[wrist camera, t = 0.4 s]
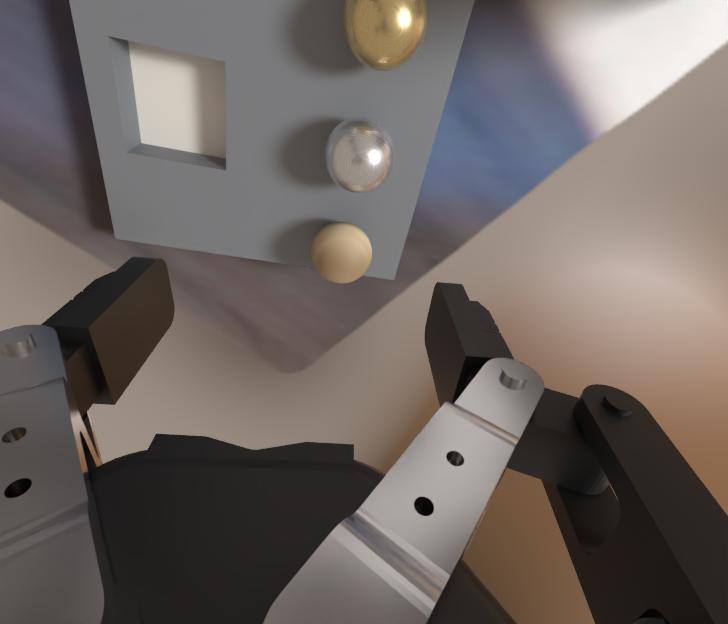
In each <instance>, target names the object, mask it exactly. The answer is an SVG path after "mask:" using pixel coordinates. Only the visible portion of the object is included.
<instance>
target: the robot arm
mask: <svg viewBox="0 0 728 624" xmlns="http://www.w3.org/2000/svg"><path fill="white" fill-rule="evenodd" d="M173 318H174V302H173V296H172V291H171V286H170V281H169V275H168V270H167V266H166V263H165V262H164V260H163V259H158V258H146V257H132V258H130V259H129V260H128V261H127V262H126V263H125V264H123V265H122V266H121V267H120V268H119V269H118V270H117V271H115V272H111V273H109V274H107V275H104V276H102V277H100V278H98V279H96V280H94V281H93V282H92V283H91V284H90V285H88V286H87V287H86V288H85V289H84V290H83V292H80V293H79V294H77V295H76V296H75V297H74V299H73V300H70V301H69V302H68V303H67V304H65V305H64V306H63V307H62V308H61V309H60V310H58V311H57V312H56V313H55V314H53V315H52V316H51V317H50V318H49V319H47V320H46V321H45V322H44V323H43V324H41V325H24V326H18V327H14V328H10V329H6V330H3V331H1V332H0V624H517V623H516V622H515V621H514V619H513V618H512V617H511V616H510V615H509V613H508V612H507V611H506V610H505V609H504V608H503V607H502V605H501V604H500V603H499V602H498V601H497V599H496V598H495V597H494V596H493V595H492V594H491V592H490V591H489V590H488V589H487V588H486V586H485V585H484V584H483V583H482V582H481V581H480V579H479V578H478V577H477V576H476V575H475V574H474V572H473V571H472V570H471V569H470V568H469V567H468V565H467V564H466V563H465V562H464V561H463V559H462V558H463V556H464V554H465V552H466V550H467V548H468V546H469V544H470V542H471V540H472V537H473V536H474V534H475V532H476V529H477V527H478V525H479V523H480V521H481V519H482V517H483V515H484V513H485V511H486V509H487V507H488V505H489V503H490V501H491V499H492V497H493V495H494V493H495V491H496V489H497V487H498V485H499V483H500V481H501V479H502V477H503V475H504V473H505V471H506V469H507V468H509V469H512V470H515V471H518V472H521V473H524V474H527V475H530V476H533V477H536V478H539V479H541V480H542V482H543V485H544V488H545V491H546V493H547V496H548V498H549V501H550V504H551V507H552V509H553V512H554V514H555V517H556V520H557V523H558V525H559V528H560V530H561V533H562V536H563V539H564V541H565V544H566V547H567V549H568V552H569V554H570V557H571V560H572V563H573V565H574V568H575V570H576V573H577V576H578V579H579V581H580V584H581V587H582V589H583V592H584V595H585V597H586V600H587V603H588V606H589V608H590V611H591V614H592V616H593V619H594V621H595V624H728V516H727V514H726V513H725V512H724V510H723V509H722V508H721V507H720V505H719V504H718V502H717V501H716V500H715V498H714V497H713V496H712V494H711V493H710V492H709V491H708V489H707V488H706V487H705V485H704V484H703V483H702V481H701V480H700V479H699V477H698V476H697V475H696V474H695V472H694V471H693V469H692V468H691V467H690V465H689V464H688V463H687V461H686V460H685V459H684V458H683V456H682V455H681V454H680V452H679V451H678V450H677V448H676V447H675V446H674V444H673V443H672V442H671V440H670V439H669V438H668V436H667V435H666V434H665V432H664V431H663V430H662V428H661V427H660V426H659V424H658V423H657V422H656V420H655V419H654V418H653V416H652V415H651V414H650V413H649V411H648V410H647V409H646V408H645V406H644V405H643V404H642V403H640V402H639V401H638V400H637V399H635V398H634V397H632V396H631V395H629V394H627V393H625V392H624V391H621V390H619V389H616V388H614V387H610V386H606V385H598V384H596V385H590V386H588V387H586V388H585V389H584V390H583V392H582V394H581V396H580V398H577V397H574V396H570V395H567V394H563V393H560V392H557V391H553V390H550V389H547V388H545V387H544V382H543V380H542V378H541V377H540V375H539V374H538V373H537V372H536V371H535V370H533V369H532V368H531V367H529V366H528V365H526V364H524V363H522V362H519V361H517V360H514V358H513V356H512V354H511V352H510V350H509V348H508V347H507V345H506V343H505V341H504V339H503V337H502V336H501V333H499V329H498V327H497V325H496V324H495V322H494V320H493V318H492V316H491V314H490V312H489V311H488V310H487V309H486V308H485V307H483V306H482V305H481V304H480V303H479V302H477V301H470V300H469V298H468V296H467V294H466V291H465V289H464V287H463V285H462V284H452V283H439V282H437V283H436V285H435V287H434V291H433V296H432V300H431V304H430V309H429V313H428V317H427V322H426V327H425V346H426V349H427V354H428V358H429V362H430V366H431V370H432V375H433V379H434V383H435V388H436V392H437V396H438V400H439V404H440V409H439V410H438V411H437V413H436V414H435V415H434V417H433V418H432V419H431V420H430V421H429V423H428V424H427V425H426V426H425V428H424V429H423V430H422V431H421V432H420V434H419V435H418V436H417V437H416V439H415V440H414V441H413V442H412V444H411V445H410V446H409V447H408V448H407V450H406V451H405V452H404V453H403V455H402V456H401V457H400V458H399V460H398V461H397V462H396V463H395V465H394V466H393V467H392V468H391V470H390V471H389V472H388V473H387V474H386V475H385V474H384V473H383V472H381V471H379V470H378V469H376V468H374V467H372V466H370V465H367V464H365V463H363V462H359V461H356V460H354V459H353V458H354V445H350V444H332V443H315V442H304V443H297V444H291V445H285V446H279V447H273V448H267V449H260V450H251V449H247V448H243V447H240V446H236V445H233V444H229V443H226V442H223V441H219V440H216V439H213V438H209V437H204V436H186V435H167V434H156V435H155V437H154V439H153V441H152V443H151V445H150V446H149V448H148V450H144V451H139V452H136V453H132V454H128V455H125V456H122V457H119V458H116V459H114V460H111V461H109V462H107V463H104V464H103V463H102V459H101V455H100V451H99V447H98V444H97V440H96V436H95V433H94V429H93V425H92V421H91V418H90V415H89V413H88V410H89V408H90V407H91V406H92V404H94V403H95V404H111V405H115V404H116V402H117V401H118V399H119V398H120V396H121V395H122V394H123V392H124V391H125V389H126V388H127V387H128V385H129V384H130V382H131V381H132V379H133V378H134V377H135V375H136V374H137V372H138V371H139V370H140V368H141V367H142V365H143V364H144V363H145V361H146V360H147V358H148V357H149V355H150V354H151V352H152V351H153V350H154V348H155V347H156V345H157V344H158V343H159V341H160V340H161V338H162V337H163V336H164V334H165V333H166V331H167V330H168V329H169V327H170V326H171V324H172V321H173ZM609 484H611V486H612V488H613V490H614V492H615V494H616V496H617V498H618V500H617V498H616V496H615V494H614V492H613V490H612V488H611V487H610V485H609ZM618 501H619V502H618Z"/></svg>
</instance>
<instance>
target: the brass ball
mask: <svg viewBox="0 0 728 624" xmlns="http://www.w3.org/2000/svg"><path fill="white" fill-rule="evenodd" d="M427 21H428V11H427V4H426V0H346V1H345V4H344V9H343V32H344V36H345V39H346V42H347V45H348V47H349V49H350V51H351V52H352V54H353V55H354V56H355V58H356V59H357V60H358V61H359V62H360V63H361V64H363V65H364V66H366V67H368V68H370V69H372V70H376V71H392V70H395V69H398V68H400V67H402V66H404V65H405V64H407V63H408V62H409V61H410V60H411V59H412V58H413V57H414V56H415V54H416V53H417V52H418V50H419V48H420V46H421V45H422V42H423V40H424V37H425V34H426V29H427Z"/></svg>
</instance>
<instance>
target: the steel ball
mask: <svg viewBox="0 0 728 624" xmlns="http://www.w3.org/2000/svg"><path fill="white" fill-rule="evenodd" d="M324 159H325V165H326V168H327V171H328V173H329V175H330V176H331V178H332V179H333V181H334V182H335V183H336V184H337V185H338V186H340V187H341V188H343V189H345V190H347V191H349V192H353V193H367V192H371V191H373V190H375V189H377V188H379V187H380V186H381V185H382V184H383V183H384V182H385V181H386V180H387V179H388V178H389V176H390V174H391V172H392V170H393V166H394V162H395V148H394V144H393V141H392V138H391V136H390V134H389V133H388V132H387V130H386V129H385V128H384V127H383V126H382V125H381V124H380V123H378V122H377V121H375V120H373V119H370V118H366V117H353V118H349V119H347V120H344V121H343V122H341V123H340V124H338V125H337V126H336V127H335V128H334V129H333V130H332V132H331V133H330V135H329V137H328V139H327V142H326V145H325V150H324Z"/></svg>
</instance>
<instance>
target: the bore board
mask: <svg viewBox="0 0 728 624" xmlns="http://www.w3.org/2000/svg"><path fill="white" fill-rule="evenodd" d="M345 1H346V0H69V3H70V8H71V13H72V18H73V23H74V28H75V33H76V39H77V44H78V49H79V54H80V59H81V64H82V69H83V75H84V80H85V85H86V90H87V95H88V100H89V106H90V111H91V116H92V121H93V126H94V131H95V136H96V142H97V147H98V152H99V157H100V162H101V167H102V173H103V178H104V183H105V188H106V193H107V198H108V203H109V209H110V214H111V219H112V224H113V229H114V234H115V239H120V240H127V241H134V242H140V243H147V244H154V245H161V246H167V247H174V248H181V249H188V250H194V251H201V252H208V253H215V254H221V255H228V256H235V257H242V258H248V259H255V260H262V261H269V262H275V263H282V264H289V265H295V266H302V267H309V268H315V266H314V264H313V261H312V257H311V247H312V243H313V240H314V238H315V236H316V235H317V233H318V232H319V231H320V230H321V229H322V228H324V227H325V226H327V225H329V224H331V223H334V222H348V223H352V224H354V225H356V226H358V227H359V228H360V229H362V230H363V231H364V232H365V234H366V235H367V237H368V238H369V240H370V243H371V247H372V258H371V262H370V265H369V267H368V269H367V270H366V272H365V273H364V274H363V276H370V277H376V278H383V279H390V280H394V278H395V275H396V271H397V268H398V264H399V261H400V257H401V254H402V251H403V247H404V244H405V240H406V237H407V233H408V230H409V226H410V223H411V219H412V216H413V213H414V209H415V206H416V202H417V199H418V195H419V192H420V188H421V185H422V181H423V178H424V175H425V171H426V168H427V164H428V161H429V157H430V154H431V150H432V147H433V143H434V140H435V137H436V133H437V130H438V126H439V123H440V119H441V116H442V112H443V109H444V105H445V102H446V99H447V95H448V92H449V88H450V85H451V81H452V78H453V74H454V71H455V68H456V64H457V61H458V57H459V54H460V50H461V47H462V43H463V40H464V36H465V33H466V30H467V26H468V23H469V19H470V16H471V12H472V9H473V5H474V2H475V0H426V4H427V11H428V21H427V29H426V34H425V37H424V40H423V42H422V45H421V46H420V48H419V50H418V52H417V53H416V54H415V56H414V57H413V58H412V59H411V60H410V61H409V62H408V63H407V64H405V65H404V66H402V67H400V68H398V69H395V70H392V71H376V70H372V69H370V68H368V67H366V66H364V65H363V64H361V63H360V62H359V61H358V60H357V59H356V58H355V56H354V55H353V54H352V52H351V51H350V49H349V47H348V45H347V42H346V39H345V36H344V32H343V9H344V4H345ZM353 117H366V118H370V119H373V120H375V121H377V122H378V123H380V124H381V125H382V126H383V127H384V128H385V129H386V130H387V132H388V133H389V134H390V136H391V138H392V141H393V144H394V148H395V162H394V166H393V170H392V172H391V174H390V176H389V178H388V179H387V180H386V181H385V182H384V183H383V184H382V185H381V186H380V187H379V188H377V189H375V190H373V191H371V192H367V193H353V192H349V191H347V190H345V189H343V188H341V187H340V186H338V185H337V184H336V183H335V182H334V181H333V179H332V178H331V176H330V175H329V173H328V171H327V168H326V165H325V159H324V150H325V145H326V142H327V139H328V137H329V135H330V133H331V132H332V130H333V129H334V128H335V127H336V126H337V125H338V124H340V123H341V122H343V121H344V120H347V119H349V118H353Z"/></svg>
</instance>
